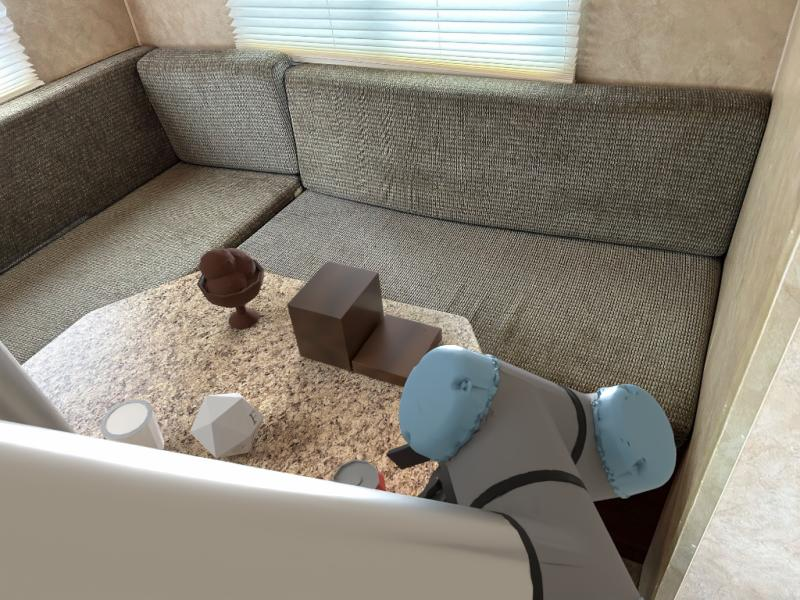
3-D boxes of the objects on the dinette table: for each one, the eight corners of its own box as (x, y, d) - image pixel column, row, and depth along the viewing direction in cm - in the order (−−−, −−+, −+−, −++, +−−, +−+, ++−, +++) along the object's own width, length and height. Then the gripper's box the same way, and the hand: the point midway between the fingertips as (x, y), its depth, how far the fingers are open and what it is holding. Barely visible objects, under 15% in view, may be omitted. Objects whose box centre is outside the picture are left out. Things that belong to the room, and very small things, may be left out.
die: (227, 484, 81) (258, 431, 78) (170, 450, 81) (198, 395, 77) (252, 449, 89) (281, 399, 86) (200, 418, 89) (227, 366, 85)
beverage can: (334, 527, 74) (318, 470, 67) (382, 506, 76) (371, 447, 69) (353, 571, 70) (337, 514, 62) (402, 546, 72) (393, 488, 64)
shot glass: (149, 475, 83) (130, 443, 78) (108, 464, 85) (88, 432, 80) (178, 435, 88) (162, 403, 83) (139, 426, 90) (122, 394, 85)
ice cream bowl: (256, 345, 101) (233, 273, 92) (200, 333, 105) (173, 263, 95) (286, 305, 109) (268, 235, 99) (233, 295, 112) (211, 227, 103)
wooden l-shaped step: (300, 356, 98) (286, 304, 91) (337, 311, 106) (327, 260, 100) (411, 390, 91) (406, 336, 84) (442, 338, 99) (439, 286, 92)
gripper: (477, 636, 45) (336, 634, 61) (562, 400, 62) (435, 444, 77) (408, 574, 44) (281, 587, 59) (514, 349, 61) (394, 405, 76)
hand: (368, 507), depth 68 cm, fingers open, 13 cm apart
